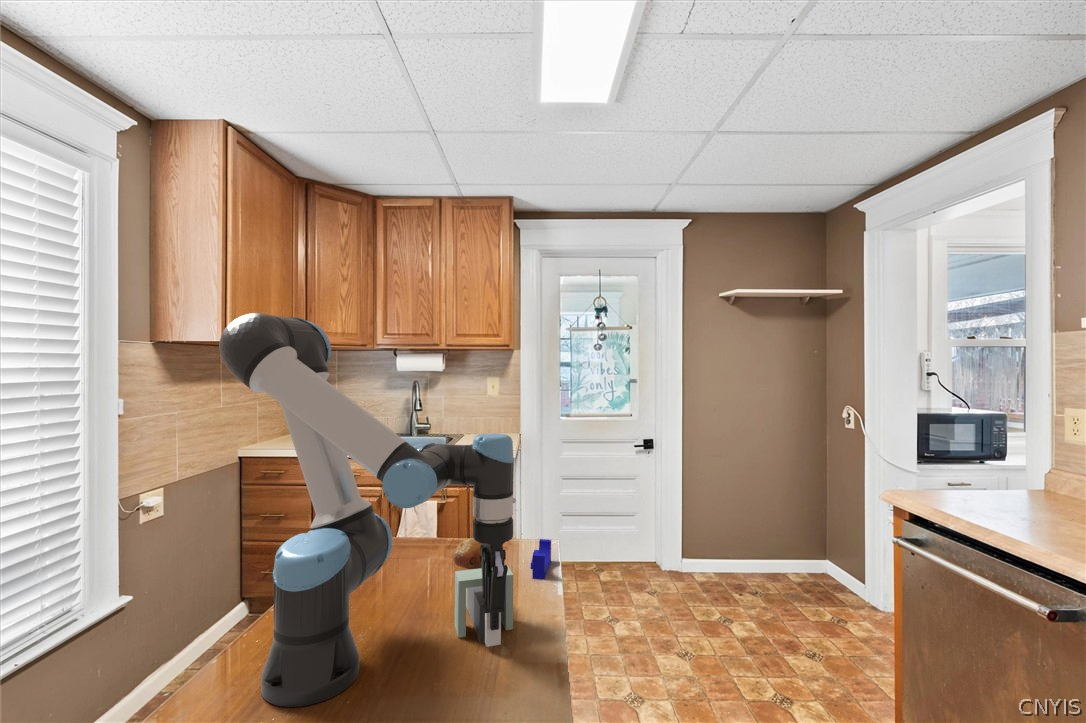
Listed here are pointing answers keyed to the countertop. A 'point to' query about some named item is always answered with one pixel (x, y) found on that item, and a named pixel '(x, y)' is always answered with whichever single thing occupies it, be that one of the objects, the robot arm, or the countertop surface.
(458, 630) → the pale green arch
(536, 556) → the blue cradle block
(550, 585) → the countertop surface
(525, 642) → the countertop surface
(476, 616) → the grey rectangular block
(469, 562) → the bread roll
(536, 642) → the countertop surface
